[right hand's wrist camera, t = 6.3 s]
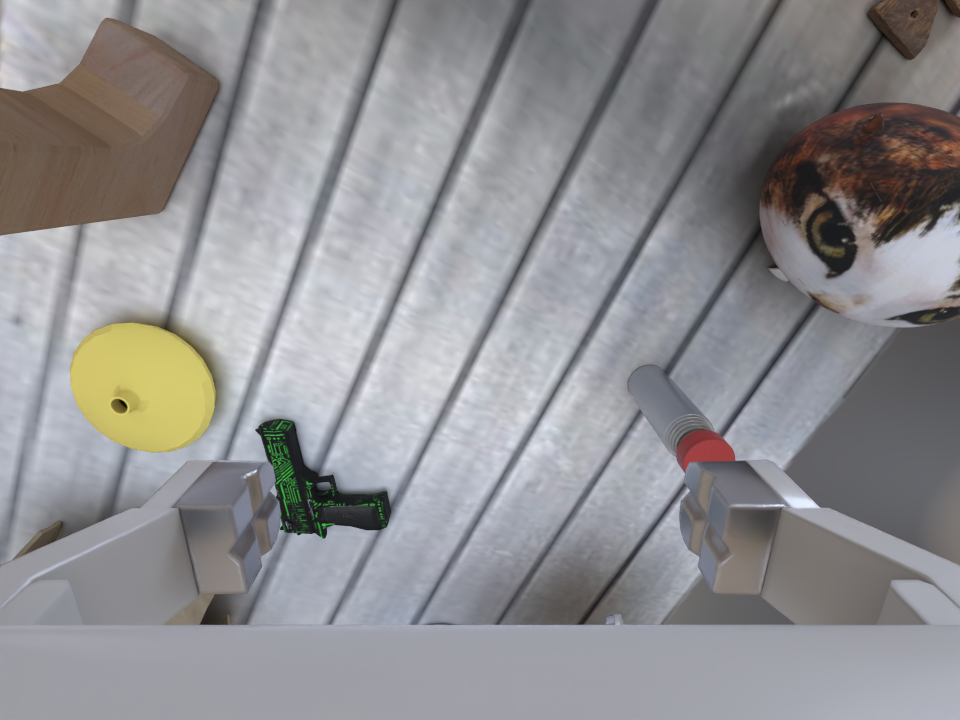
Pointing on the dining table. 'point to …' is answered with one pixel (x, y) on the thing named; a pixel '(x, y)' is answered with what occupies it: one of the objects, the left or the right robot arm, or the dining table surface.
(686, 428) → the bottle
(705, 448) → the cap
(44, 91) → the decorative block
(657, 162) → the dining table surface
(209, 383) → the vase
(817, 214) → the plush toy
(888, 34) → the wooden paddle board
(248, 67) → the dining table surface
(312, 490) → the handgun
